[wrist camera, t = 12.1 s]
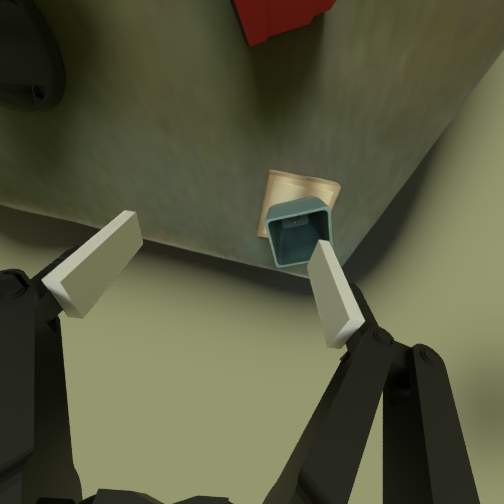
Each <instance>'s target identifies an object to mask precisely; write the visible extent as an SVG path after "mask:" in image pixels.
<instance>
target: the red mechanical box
mask: <svg viewBox="0 0 504 504" xmlns="http://www.w3.org/2000/svg"><path fill="white" fill-rule="evenodd" d="M230 1H231V4H232V7H233V10H234V12H235V15H236V18H237V20H238V23H239V26H240V28H241V31H242V35H243V36H244V39H245V42H246V44H249V47H250V46H253V45H256V44H259V43H262V42H265V41H267V38H268V37H271V36H274V35H277V34H280V33H283V32H286V31H289V30H292V29H296V28H299V27H302V26H305V25H308V24H310V22H311V21H312V19H313V17H314V16H316V15H320V14H321V13H322V12H325V11H328V10H330V9H331V7H332V6H333V4H334V3H335V1H336V0H230Z"/></svg>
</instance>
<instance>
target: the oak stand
mask: <svg viewBox="0 0 504 504" xmlns="http://www.w3.org/2000/svg"><path fill="white" fill-rule="evenodd" d="M340 189H341V186H340V185H339V184H338V183H337V182H336V181H331V180H326V179H320V178H315V177H309V176H303V175H298V174H292V173H287V172H281V171H276V170H270V169H269V174H268V180H267V185H266V190H265V195H264V200H263V205H262V210H261V215H260V220H259V225H258V233H257V236H260V237H266V238H268V234H267V231H266V227H265V219H266V215H267V212H268V209H269V208H270V207H271V206H273V205H276V204H280V203H284V202H288V201H293V200H297V199H301V198H305V197H310V196H315V197H318V198H320V199H321V200H322V201H323V202H324V203H325V204H327V205H328V206H329V207H330V209H331V210H332V208H333V205H334V203H335V201H336V198H337V196H338V193H339V191H340ZM294 223H297V222H296V221H294Z"/></svg>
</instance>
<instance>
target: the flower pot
mask: <svg viewBox="0 0 504 504" xmlns="http://www.w3.org/2000/svg"><path fill="white" fill-rule="evenodd" d="M294 221H296V222H297V223H294ZM265 227H266V231H267V234H268V238H269V241H270V245H271V249H272V252H273V256H274V260H275V264H276V266H277V267H278V268H280V267H287V266H292V265H297V264H303V263H309V261H310V259H311V256H312V254H313V252H314V249H315V247H316V245H317V243H318V240H324V241H329V243H330V245H331V247H332V249H333V244H332V229H331V209H330V207H329V206H328V205H327V204H325V203H324V202H323V201H322V200H321V199H320V198H318V197H315V196H310V197H305V198H301V199H297V200H293V201H288V202H284V203H280V204H276V205H273V206H271V207H270V208H269V209H268V212H267V215H266V219H265Z"/></svg>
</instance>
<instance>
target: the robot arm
mask: <svg viewBox="0 0 504 504" xmlns="http://www.w3.org/2000/svg"><path fill="white" fill-rule="evenodd" d="M64 83H65V78H64V68H63V63H62V59H61V55H60V52H59V49H58V47H57V44H56V42H55V39H54V37H53V35H52V33H51V31H50V29H49V27H48V25H47V23H46V22H45V20H44V18H43V17H42V15H41V14H40V12H39V11H38V9H37V8H36V6H35V5H34V4H33V2H32V1H31V0H0V106H3V107H6V108H10V109H13V110H17V111H24V112H35V111H46V110H49V109H51V108H53V107H54V106H56V105H57V104H58V102H59V101H60V99H61V97H62V95H63V91H64ZM142 245H143V241H142V236H141V232H140V228H139V223H138V219H137V215H136V212H132V211H125V210H124V211H123V212H122V213H121V214H120V215H118V216H117V217H116V218H115V219H114V220H112V221H111V222H110V223H109V224H108V225H106V226H105V227H104V228H103V229H102V230H101V231H99V232H98V233H97V234H96V235H94V236H93V237H92V238H91V239H90V240H88V241H87V242H86V243H85V244H84V245H82V246H75V247H73V248H71V249H69V250H67V251H66V252H64V253H63V254H62V255H61V256H60V257H59V258H57V259H56V260H54V261H53V263H51V264H49V265H48V266H47V267H46V268H44V269H43V270H42V271H40V272H39V273H38V274H37V275H36V276H34V277H33V278H32V279H29V278H28V276H27V275H26V274H25V272H24V271H22V270H19V269H7V270H2V271H0V504H164V503H162V502H160V501H158V500H156V499H154V498H153V497H151V496H149V495H147V494H144V493H139V492H134V491H124V490H110V489H98V491H97V494H96V495H93V496H90V497H88V498H86V499H84V500H83V499H82V489H81V483H80V479H79V476H78V474H77V472H76V470H75V468H74V464H73V458H72V448H71V436H70V425H69V414H68V403H67V391H66V380H65V369H64V358H63V348H62V337H61V326H60V319H59V317H58V314H59V313H60V312H61V311H62V310H63V311H64V312H65V313H66V315H67V316H68V317H75V318H84V317H85V315H86V314H87V313H88V312H89V311H90V309H91V308H92V307H93V306H94V304H95V303H96V302H97V301H98V299H99V298H100V297H101V296H102V294H103V293H104V292H105V291H106V289H107V288H108V287H109V286H110V284H111V283H112V282H113V281H114V279H115V278H116V277H117V276H118V275H119V273H120V272H121V271H122V269H123V268H124V267H125V266H126V265H127V263H128V262H129V261H130V259H131V258H132V257H133V256H134V255H135V253H136V252H137V251H138V250H139V248H140V247H141V246H142ZM307 270H308V274H309V277H310V281H311V285H312V289H313V293H314V297H315V301H316V305H317V308H318V312H319V316H320V320H321V324H322V328H323V332H324V335H325V339H326V343H327V347H329V348H337V349H341V348H342V347H343V346H344V345H345V344H346V346H347V349H348V351H347V352H346V353H345V354H344V355H343V356H342V357H341V358H340V360H341V362H340V364H339V366H338V368H337V370H336V372H335V374H334V375H333V378H332V379H331V381H330V383H329V385H328V387H327V389H326V391H325V392H324V394H323V396H322V398H321V400H320V402H319V404H318V406H317V407H316V409H315V411H314V413H313V415H312V417H311V419H310V421H309V423H308V424H307V426H306V428H305V430H304V432H303V434H302V436H301V438H300V439H299V442H298V443H297V445H296V447H295V449H294V451H293V452H292V454H291V456H290V458H289V461H288V462H287V464H286V466H285V468H284V470H283V471H282V473H281V475H280V477H279V479H278V480H277V482H276V483H275V485H274V486H273V487H272V489H271V490H270V492H269V493H268V495H267V496H266V498H265V500H264V502H263V504H348V500H349V497H350V494H351V491H352V487H353V484H354V481H355V478H356V475H357V471H358V468H359V465H360V461H361V458H362V455H363V452H364V449H365V446H366V442H367V439H368V436H369V433H370V429H371V426H372V423H373V420H374V417H375V413H376V410H377V407H378V404H379V400H380V397H381V394H382V391H383V504H480V501H479V498H478V494H477V489H476V485H475V482H474V478H473V474H472V470H471V466H470V462H469V458H468V454H467V450H466V446H465V442H464V438H463V434H462V430H461V426H460V423H459V418H458V414H457V410H456V406H455V402H454V398H453V394H452V390H451V386H450V383H449V378H448V374H447V370H446V367H445V364H444V361H443V360H442V358H441V357H440V356H439V354H437V353H436V352H435V351H434V350H433V349H431V348H430V347H428V346H426V345H423V344H416V345H414V346H413V347H412V348H411V347H409V346H406V345H404V344H401V343H399V342H396V341H394V338H393V337H392V336H391V335H390V333H388V332H387V331H386V330H385V329H383V328H381V327H379V326H378V324H377V322H376V320H375V318H374V316H373V314H372V312H371V310H370V308H369V306H368V305H367V302H366V300H365V299H364V296H363V294H362V292H361V290H360V289H359V288H358V287H357V286H356V285H355V284H354V283H348V282H347V280H346V278H345V276H344V274H343V271H342V269H341V267H340V265H339V263H338V260H337V258H336V256H335V254H334V252H333V249H332V247H331V245H330V243H329V241H324V240H318V243H317V245H316V247H315V249H314V252H313V254H312V256H311V259H310V261H309V263H308V266H307ZM228 499H229V498H225V497H210V496H195V497H192V498H189V499H186V500H183V501H180V502H177V503H174V504H233V503H231V502H229V501H228Z"/></svg>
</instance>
